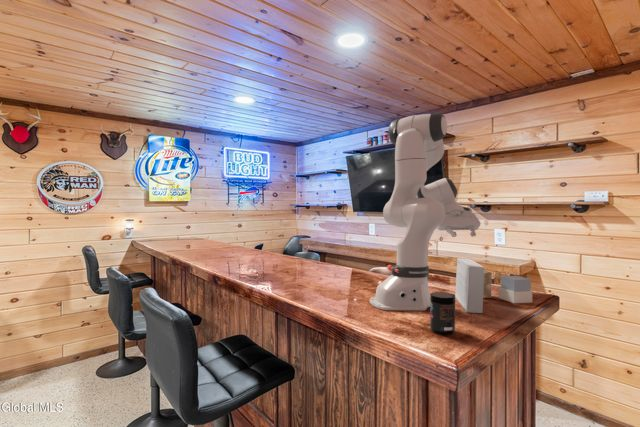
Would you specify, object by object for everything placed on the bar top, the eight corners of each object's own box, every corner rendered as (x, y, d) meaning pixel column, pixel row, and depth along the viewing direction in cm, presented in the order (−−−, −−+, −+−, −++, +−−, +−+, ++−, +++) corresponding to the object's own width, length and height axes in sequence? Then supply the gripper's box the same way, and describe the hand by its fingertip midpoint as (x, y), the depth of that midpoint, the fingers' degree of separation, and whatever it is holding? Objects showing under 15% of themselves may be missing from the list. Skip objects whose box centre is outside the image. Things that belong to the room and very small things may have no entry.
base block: (513, 304, 125) (513, 292, 125) (498, 298, 133) (498, 287, 133) (532, 303, 126) (532, 291, 126) (516, 297, 134) (516, 286, 134)
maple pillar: (480, 298, 132) (481, 272, 132) (473, 295, 136) (473, 270, 136) (491, 297, 133) (491, 272, 133) (483, 294, 137) (483, 270, 137)
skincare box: (484, 314, 112) (485, 266, 111) (467, 313, 113) (467, 266, 112) (469, 298, 132) (470, 257, 132) (455, 297, 133) (455, 257, 133)
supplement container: (445, 326, 100) (445, 291, 100) (460, 334, 93) (460, 297, 93) (425, 328, 98) (425, 292, 98) (439, 336, 91) (439, 298, 91)
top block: (514, 291, 125) (514, 279, 125) (500, 287, 132) (501, 276, 132) (530, 291, 126) (530, 279, 126) (516, 286, 133) (516, 275, 133)
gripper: (433, 208, 152) (445, 231, 143) (474, 208, 156) (488, 230, 146) (428, 218, 156) (439, 240, 147) (468, 217, 160) (481, 239, 151)
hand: (464, 235), depth 147 cm, fingers open, 8 cm apart
